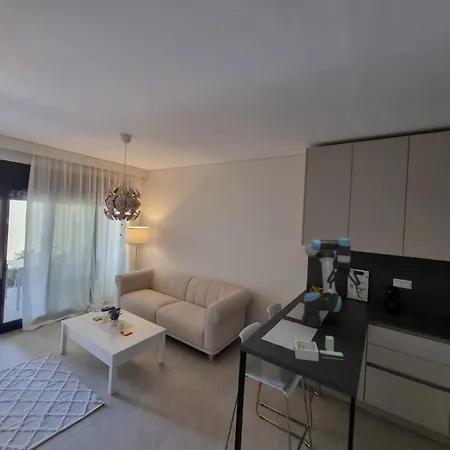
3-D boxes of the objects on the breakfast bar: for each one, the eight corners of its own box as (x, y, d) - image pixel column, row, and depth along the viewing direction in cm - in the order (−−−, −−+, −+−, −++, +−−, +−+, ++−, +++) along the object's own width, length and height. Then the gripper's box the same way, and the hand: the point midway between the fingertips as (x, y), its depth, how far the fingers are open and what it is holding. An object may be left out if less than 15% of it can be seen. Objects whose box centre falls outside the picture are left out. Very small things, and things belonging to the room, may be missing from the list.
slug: (298, 350, 152) (298, 345, 152) (303, 350, 151) (303, 345, 151) (298, 352, 149) (298, 347, 149) (303, 353, 149) (303, 348, 149)
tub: (294, 349, 154) (294, 339, 154) (315, 352, 152) (315, 342, 152) (295, 359, 143) (296, 349, 143) (318, 362, 140) (318, 351, 140)
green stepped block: (318, 347, 158) (318, 335, 158) (339, 349, 155) (339, 337, 155) (323, 362, 141) (323, 348, 141) (347, 365, 138) (347, 351, 138)
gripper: (324, 261, 163) (323, 294, 164) (366, 263, 158) (365, 297, 159) (322, 260, 171) (321, 291, 171) (362, 262, 166) (361, 294, 166)
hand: (342, 294), depth 165 cm, fingers open, 13 cm apart
